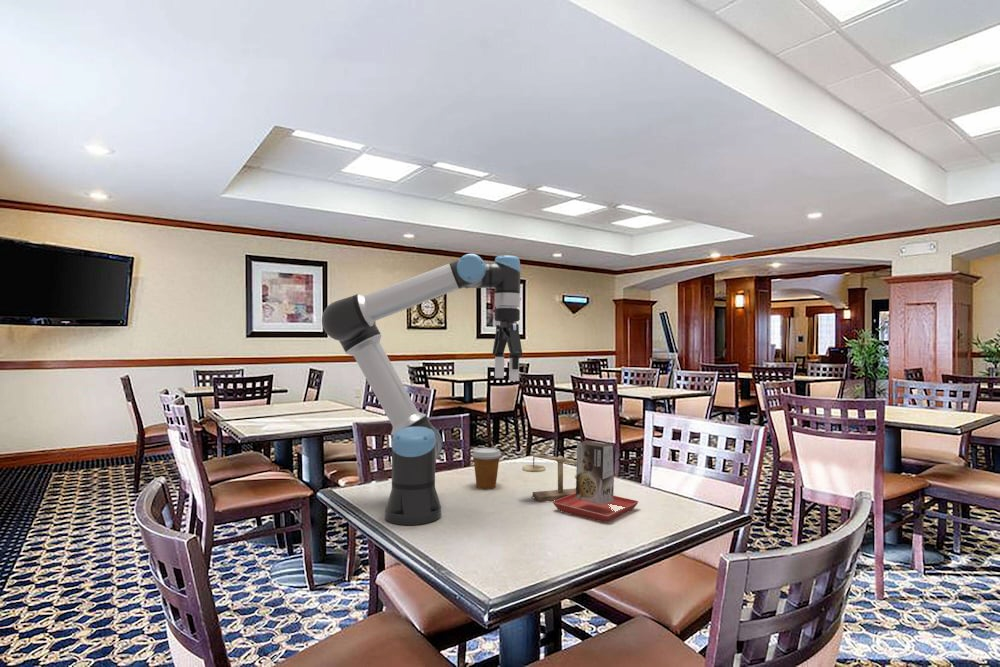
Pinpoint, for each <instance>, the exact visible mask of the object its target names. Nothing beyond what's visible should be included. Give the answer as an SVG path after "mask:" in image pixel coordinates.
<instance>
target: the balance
mask: <svg viewBox="0 0 1000 667" xmlns="http://www.w3.org/2000/svg"><path fill="white" fill-rule="evenodd" d="M535 458H539V459H543V460H544V459H545V460H549V461H556V463H557V489H552V490H540V491H539V490H538V491H532V498H533V497H534V500H536V501H537V500H538V501H537V502H539V503H547V502H546V501H549V502H553V501H554V500H558V499H560V498H563V497H566V496H569V495H571V494H574V493H576V487H575V488H574V487H573V488H564V463H568V464H573V465H574V464H575V465H577V460H573V459H567V458H565V457H564V456H562V455H558V456H556V457H555V456H551V455H544V454H538V453H533V454H532V462H533V464H529V465H523V466H522V468H521V469H522V471H524V472H528V473H542V472H545V471H546V466H544V465H538V464H535ZM574 479H576V474H575V475H574Z"/></svg>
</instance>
